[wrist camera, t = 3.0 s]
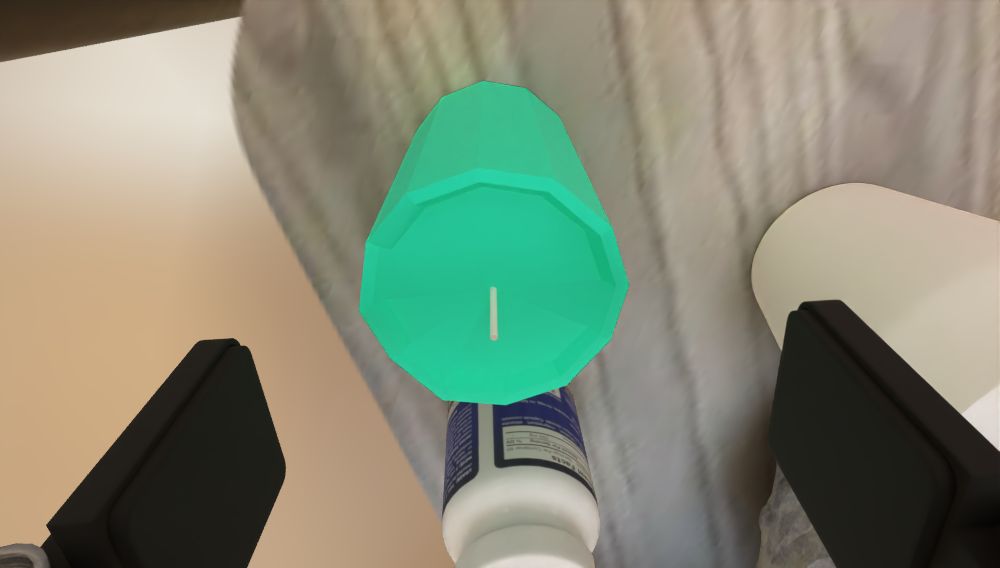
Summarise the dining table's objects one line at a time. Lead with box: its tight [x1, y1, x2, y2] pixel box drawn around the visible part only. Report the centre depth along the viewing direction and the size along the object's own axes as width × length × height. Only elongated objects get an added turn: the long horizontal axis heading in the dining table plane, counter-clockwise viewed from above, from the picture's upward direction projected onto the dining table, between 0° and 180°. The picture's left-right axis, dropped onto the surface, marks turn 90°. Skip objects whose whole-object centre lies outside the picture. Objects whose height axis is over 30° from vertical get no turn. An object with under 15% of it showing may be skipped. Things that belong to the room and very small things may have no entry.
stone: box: [755, 464, 836, 568], centre depth 25 cm, size 15×16×10 cm
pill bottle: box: [442, 384, 600, 568], centre depth 23 cm, size 6×6×10 cm
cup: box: [751, 183, 1000, 451], centre depth 19 cm, size 9×9×12 cm
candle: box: [359, 81, 629, 405], centre depth 17 cm, size 6×6×12 cm
